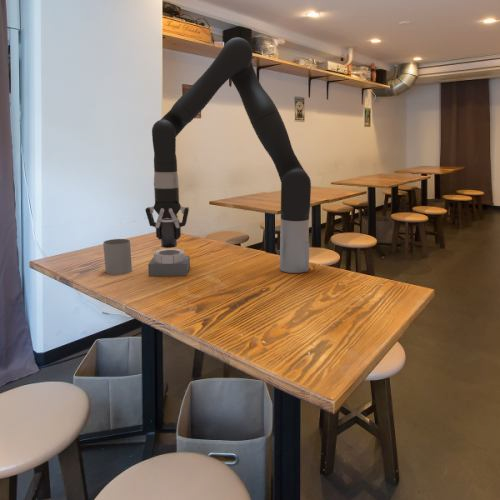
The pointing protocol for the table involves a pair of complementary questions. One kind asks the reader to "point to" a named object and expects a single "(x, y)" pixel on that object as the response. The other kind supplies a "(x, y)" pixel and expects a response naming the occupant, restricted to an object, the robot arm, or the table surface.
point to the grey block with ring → (169, 263)
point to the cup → (117, 256)
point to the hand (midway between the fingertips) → (168, 238)
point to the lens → (168, 233)
